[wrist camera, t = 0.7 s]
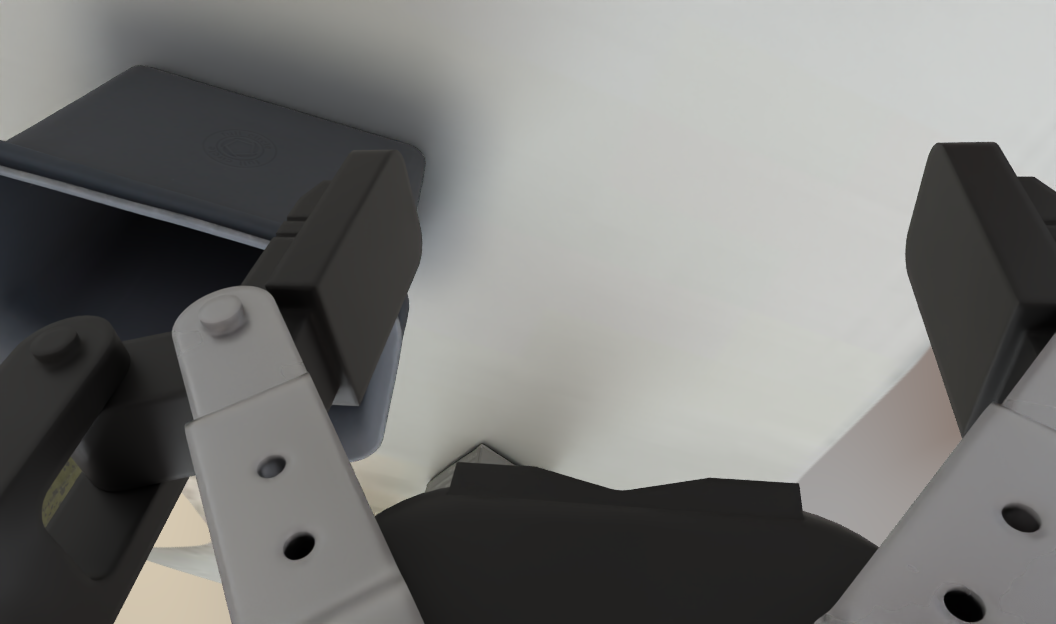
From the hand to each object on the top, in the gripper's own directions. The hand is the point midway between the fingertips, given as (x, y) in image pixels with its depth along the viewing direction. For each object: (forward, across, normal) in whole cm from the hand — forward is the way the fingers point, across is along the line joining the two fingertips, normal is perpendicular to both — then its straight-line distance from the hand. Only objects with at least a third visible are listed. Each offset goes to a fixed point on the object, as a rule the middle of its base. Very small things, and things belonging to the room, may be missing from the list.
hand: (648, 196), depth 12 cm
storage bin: (+26, +22, +16) cm, 38 cm away
